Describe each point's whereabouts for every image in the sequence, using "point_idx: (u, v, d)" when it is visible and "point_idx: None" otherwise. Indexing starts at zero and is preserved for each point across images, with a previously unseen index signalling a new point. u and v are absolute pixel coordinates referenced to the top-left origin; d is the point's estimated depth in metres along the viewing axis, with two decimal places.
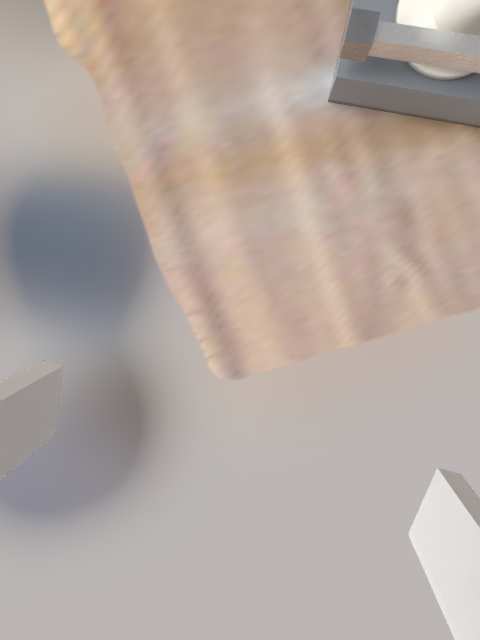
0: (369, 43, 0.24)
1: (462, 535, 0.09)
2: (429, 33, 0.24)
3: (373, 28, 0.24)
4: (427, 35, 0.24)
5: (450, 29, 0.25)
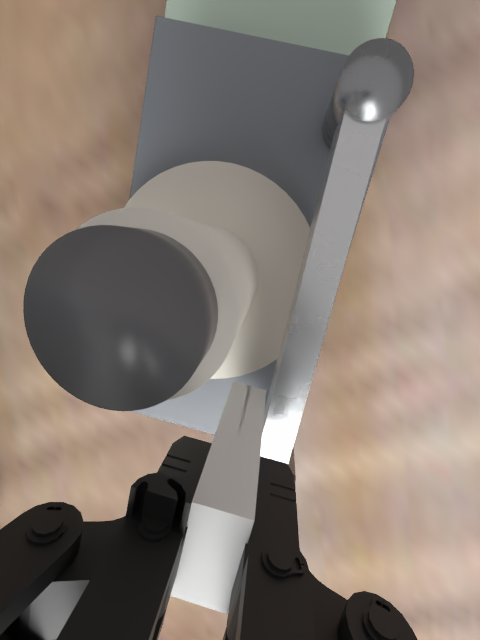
0: None
1: None
2: (286, 380, 0.12)
3: None
4: (288, 383, 0.12)
5: None
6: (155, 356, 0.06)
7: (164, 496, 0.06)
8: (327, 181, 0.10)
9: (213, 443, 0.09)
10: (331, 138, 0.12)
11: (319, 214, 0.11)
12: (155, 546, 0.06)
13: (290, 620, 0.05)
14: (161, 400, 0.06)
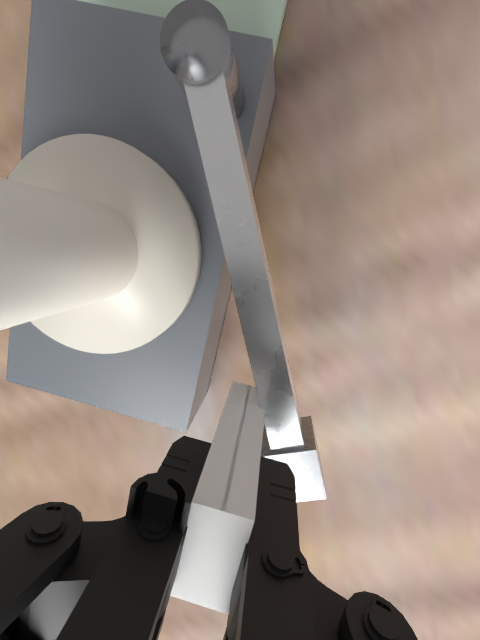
0: (316, 455, 0.12)
1: None
2: (258, 354, 0.11)
3: (290, 458, 0.12)
4: (261, 357, 0.11)
5: (126, 276, 0.14)
6: None
7: (164, 496, 0.06)
8: (201, 152, 0.10)
9: (213, 443, 0.09)
10: None
11: (209, 185, 0.10)
12: (155, 546, 0.06)
13: (290, 620, 0.05)
14: None
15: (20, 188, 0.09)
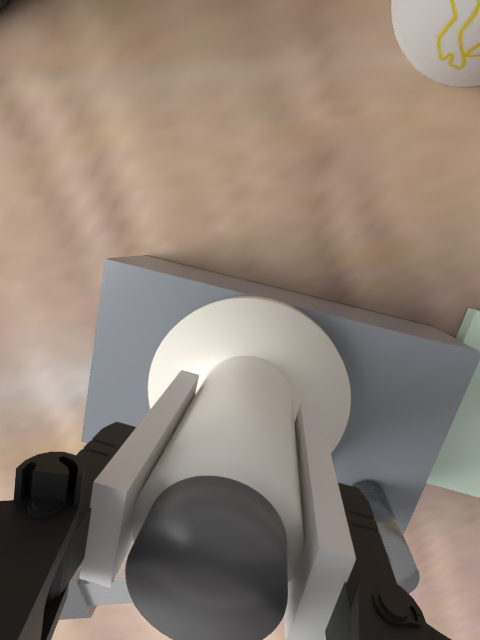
0: (86, 616, 0.15)
1: (299, 444, 0.11)
2: None
3: (80, 600, 0.15)
4: None
5: None
6: (178, 612, 0.07)
7: (54, 473, 0.06)
8: None
9: (138, 427, 0.09)
10: None
11: None
12: (46, 522, 0.06)
13: None
14: (139, 608, 0.07)
15: None
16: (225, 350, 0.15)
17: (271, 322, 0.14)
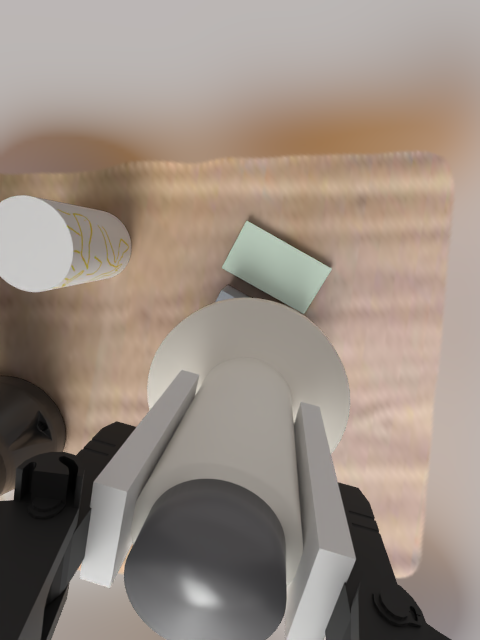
0: None
1: (299, 445, 0.11)
2: None
3: None
4: None
5: None
6: (177, 616, 0.07)
7: (54, 473, 0.06)
8: None
9: (138, 427, 0.09)
10: None
11: None
12: (46, 522, 0.06)
13: None
14: (138, 612, 0.07)
15: None
16: (224, 352, 0.15)
17: (270, 324, 0.14)
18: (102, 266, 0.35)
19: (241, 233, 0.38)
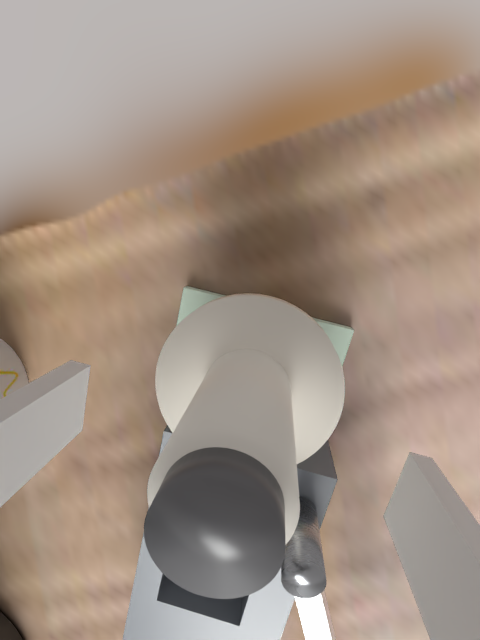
0: None
1: (428, 512, 0.10)
2: None
3: None
4: None
5: None
6: (190, 565, 0.08)
7: None
8: (302, 622, 0.16)
9: None
10: None
11: None
12: None
13: None
14: (156, 562, 0.08)
15: None
16: (228, 344, 0.16)
17: (271, 317, 0.15)
18: None
19: (181, 310, 0.22)
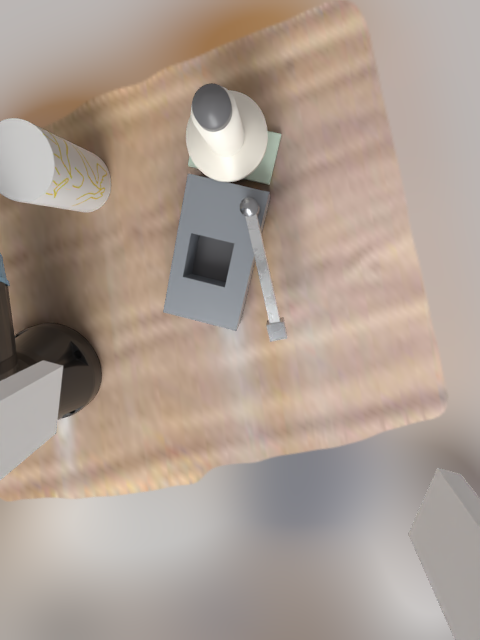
0: (283, 323, 0.38)
1: (462, 535, 0.09)
2: (265, 292, 0.38)
3: (275, 325, 0.38)
4: (266, 293, 0.38)
5: (216, 153, 0.37)
6: (204, 115, 0.29)
7: None
8: (249, 234, 0.37)
9: None
10: None
11: None
12: None
13: None
14: (195, 117, 0.29)
15: (235, 133, 0.32)
16: None
17: (235, 99, 0.36)
18: (86, 182, 0.41)
19: None
